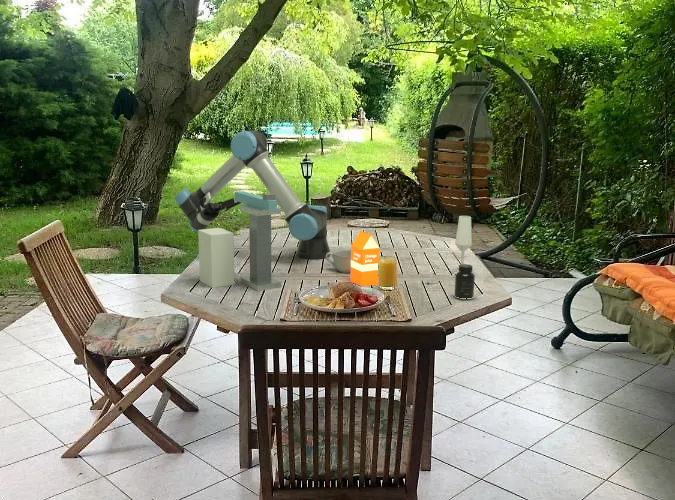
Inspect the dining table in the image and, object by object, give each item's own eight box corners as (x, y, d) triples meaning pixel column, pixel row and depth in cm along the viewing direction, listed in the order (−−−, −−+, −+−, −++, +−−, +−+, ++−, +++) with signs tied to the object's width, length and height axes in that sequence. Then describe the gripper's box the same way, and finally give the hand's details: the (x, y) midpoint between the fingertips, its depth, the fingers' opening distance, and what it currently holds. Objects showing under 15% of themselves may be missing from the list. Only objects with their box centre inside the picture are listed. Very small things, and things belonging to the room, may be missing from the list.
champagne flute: (457, 276, 262) (461, 218, 257) (450, 272, 269) (453, 215, 263) (472, 275, 264) (476, 218, 259) (465, 271, 270) (468, 215, 265)
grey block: (199, 280, 249) (198, 229, 245) (221, 277, 254) (220, 227, 250) (212, 287, 240) (211, 235, 235) (234, 284, 245) (233, 233, 240)
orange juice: (361, 286, 245) (362, 235, 240) (350, 281, 253) (351, 231, 248) (378, 284, 248) (380, 233, 244) (367, 279, 256) (368, 229, 252)
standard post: (240, 282, 248) (239, 205, 242) (263, 278, 254) (263, 203, 247) (257, 290, 237) (256, 210, 230) (281, 287, 243) (281, 208, 236)
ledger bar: (234, 200, 252) (234, 186, 251) (242, 200, 254) (242, 186, 253) (268, 210, 230) (268, 195, 229) (277, 210, 232) (277, 195, 231)
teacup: (362, 269, 271) (362, 250, 269) (354, 275, 261) (354, 256, 259) (331, 266, 276) (331, 247, 274) (322, 272, 266) (322, 253, 264)
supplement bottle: (452, 294, 237) (453, 263, 234) (470, 294, 237) (472, 263, 235) (457, 300, 230) (459, 268, 227) (475, 300, 231) (477, 267, 228)
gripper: (236, 219, 286) (254, 201, 269) (182, 223, 272) (198, 205, 255) (232, 203, 288) (250, 184, 270) (178, 207, 274) (194, 187, 257)
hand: (225, 194), depth 263 cm, fingers open, 13 cm apart
